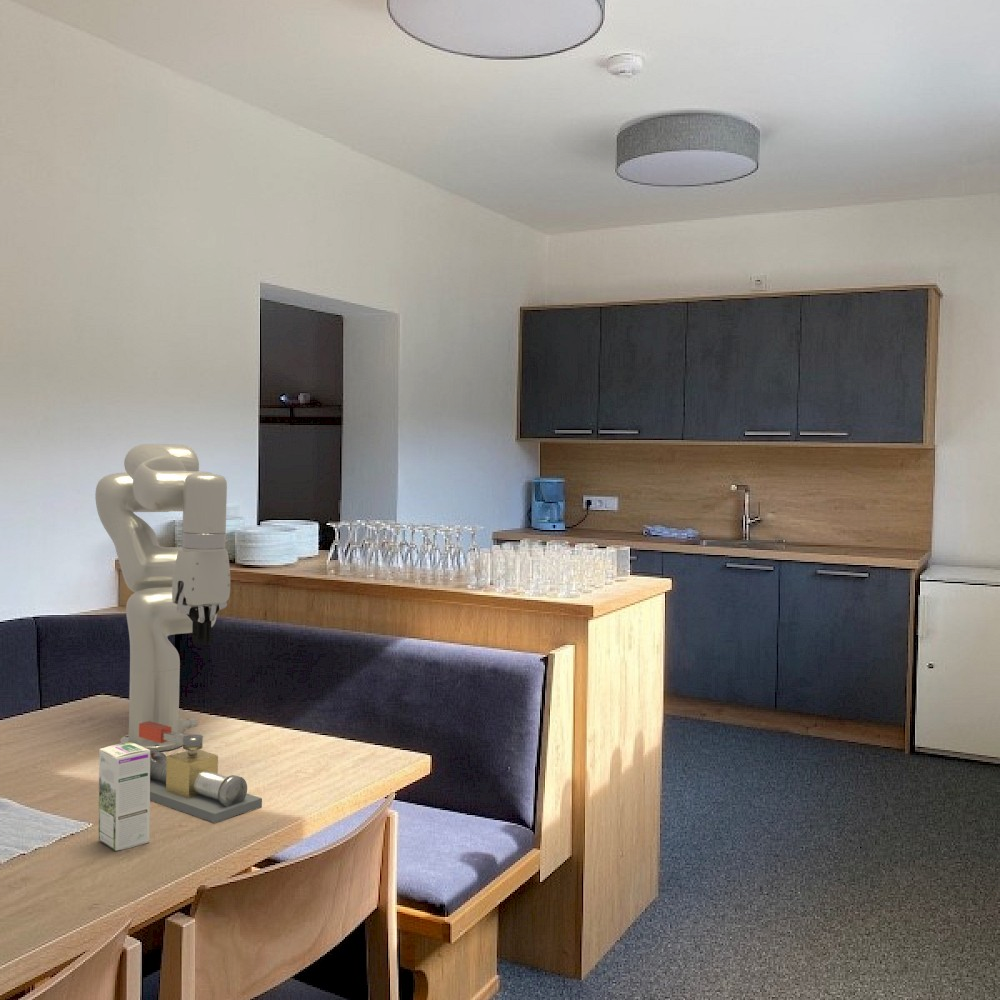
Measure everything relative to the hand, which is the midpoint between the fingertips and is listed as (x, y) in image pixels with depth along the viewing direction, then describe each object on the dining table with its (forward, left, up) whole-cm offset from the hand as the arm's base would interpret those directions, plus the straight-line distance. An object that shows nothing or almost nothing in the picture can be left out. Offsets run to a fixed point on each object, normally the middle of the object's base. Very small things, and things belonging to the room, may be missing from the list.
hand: (201, 642), depth 187 cm
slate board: (+8, +8, -25) cm, 27 cm away
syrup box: (+27, +16, -25) cm, 40 cm away
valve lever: (+8, +2, -17) cm, 19 cm away
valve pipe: (+8, +8, -25) cm, 27 cm away
